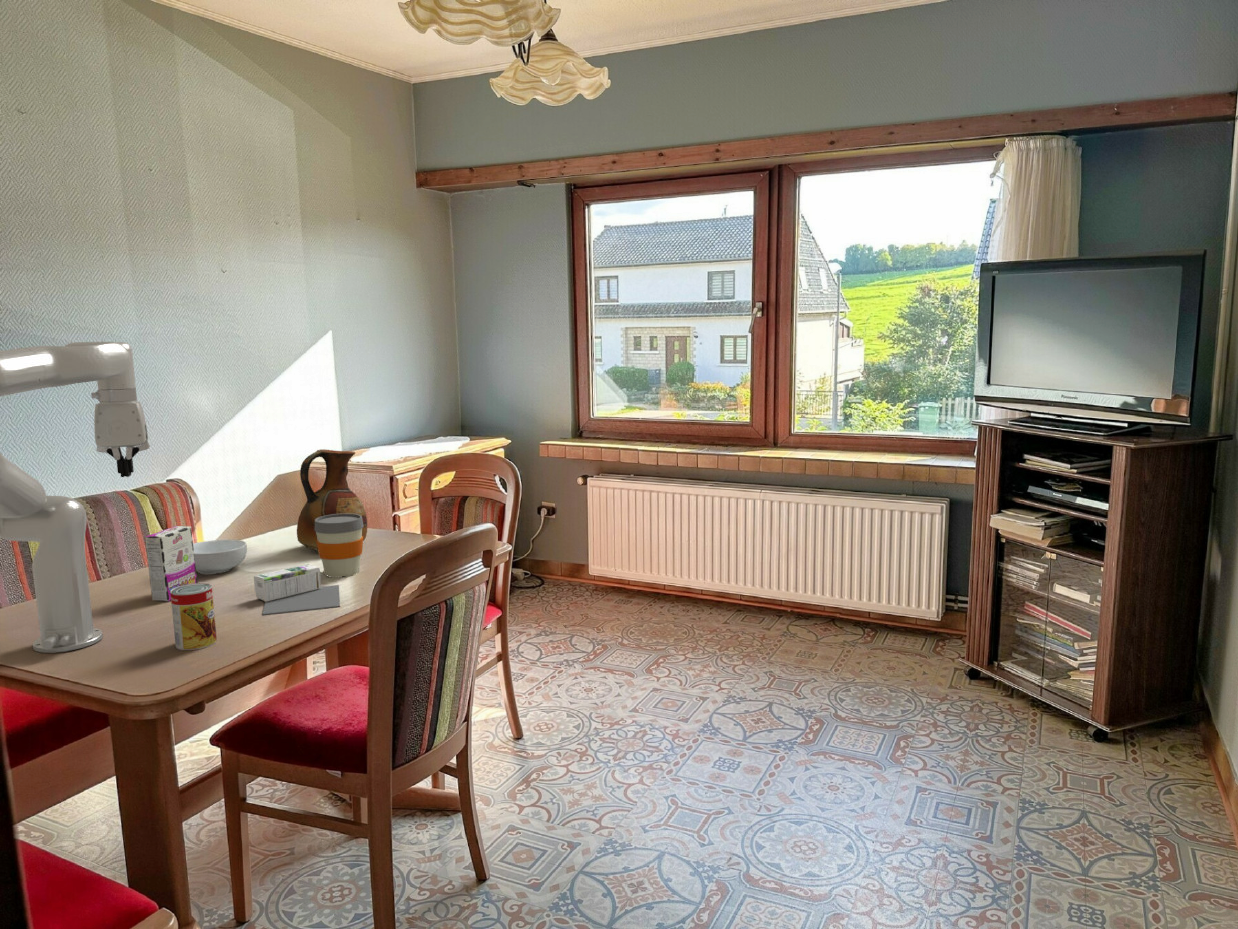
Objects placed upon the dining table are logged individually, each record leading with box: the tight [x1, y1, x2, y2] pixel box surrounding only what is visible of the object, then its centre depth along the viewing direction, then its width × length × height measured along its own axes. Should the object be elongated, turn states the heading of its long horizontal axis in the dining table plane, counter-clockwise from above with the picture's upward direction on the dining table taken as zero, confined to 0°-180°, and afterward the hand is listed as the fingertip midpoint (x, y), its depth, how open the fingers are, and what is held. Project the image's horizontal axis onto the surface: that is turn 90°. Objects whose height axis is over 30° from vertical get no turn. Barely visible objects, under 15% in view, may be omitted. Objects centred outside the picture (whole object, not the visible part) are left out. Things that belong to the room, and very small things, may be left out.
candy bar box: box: [144, 525, 198, 602], centre depth 219 cm, size 11×5×16 cm, turn 168°
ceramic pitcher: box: [296, 448, 368, 551], centre depth 262 cm, size 20×20×30 cm
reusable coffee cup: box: [315, 513, 364, 578], centre depth 237 cm, size 13×13×15 cm
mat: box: [262, 584, 341, 616], centre depth 214 cm, size 18×17×1 cm
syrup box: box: [253, 563, 322, 602], centre depth 218 cm, size 6×6×14 cm
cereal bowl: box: [193, 539, 248, 575], centre depth 242 cm, size 17×17×7 cm
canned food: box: [170, 582, 218, 651], centre depth 185 cm, size 8×8×12 cm
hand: (126, 475), depth 204 cm, fingers closed
